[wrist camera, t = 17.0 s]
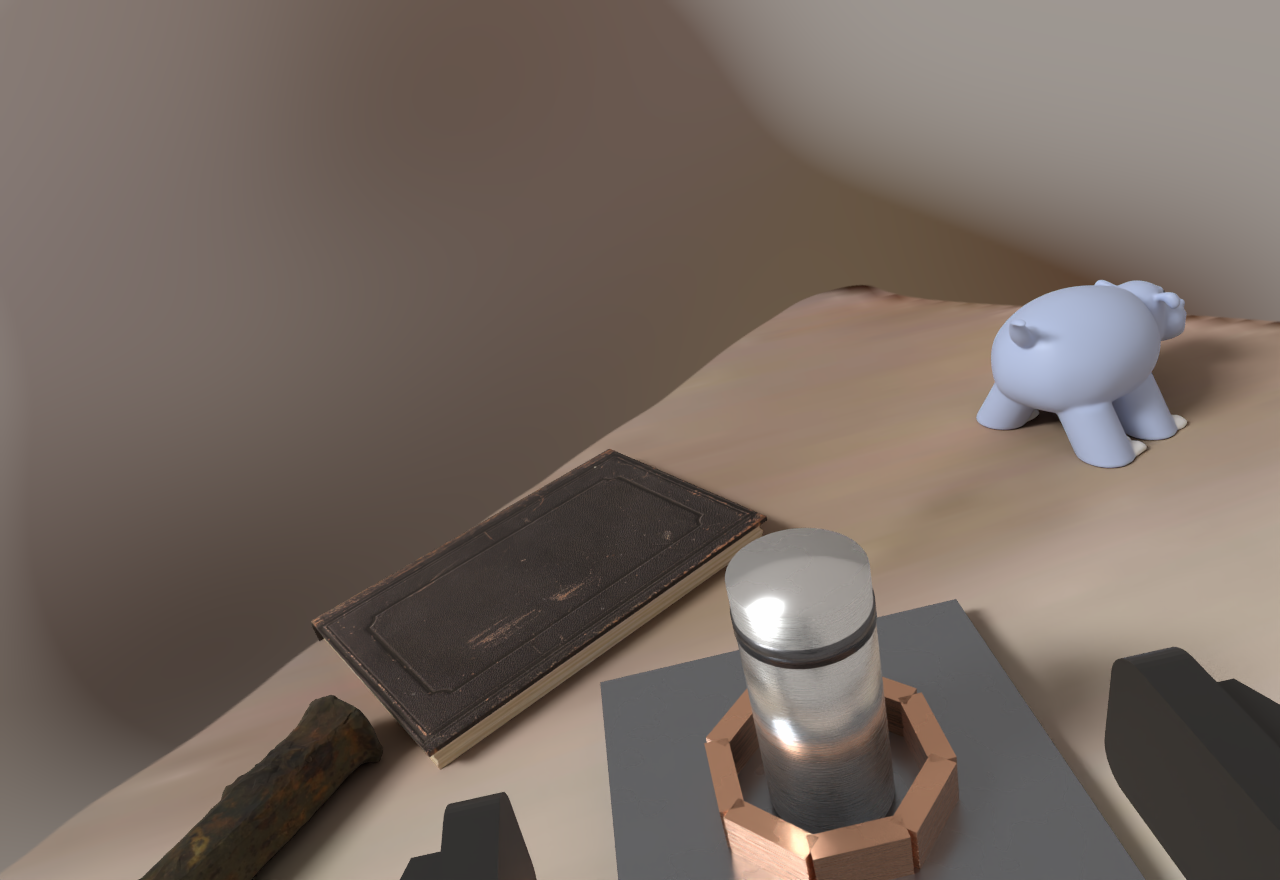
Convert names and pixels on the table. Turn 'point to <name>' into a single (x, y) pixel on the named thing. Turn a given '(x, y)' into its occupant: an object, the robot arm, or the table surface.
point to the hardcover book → (531, 597)
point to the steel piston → (814, 676)
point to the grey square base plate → (922, 767)
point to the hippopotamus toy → (1088, 367)
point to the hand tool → (274, 797)
